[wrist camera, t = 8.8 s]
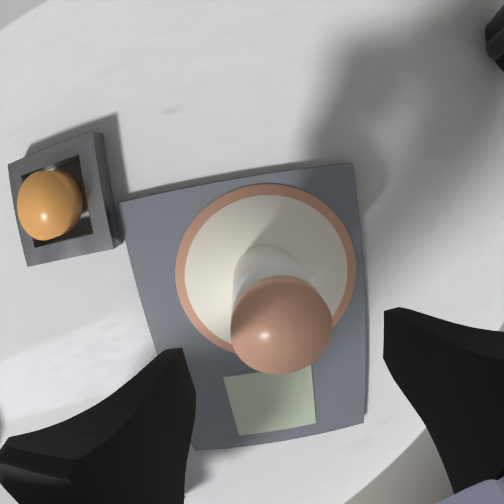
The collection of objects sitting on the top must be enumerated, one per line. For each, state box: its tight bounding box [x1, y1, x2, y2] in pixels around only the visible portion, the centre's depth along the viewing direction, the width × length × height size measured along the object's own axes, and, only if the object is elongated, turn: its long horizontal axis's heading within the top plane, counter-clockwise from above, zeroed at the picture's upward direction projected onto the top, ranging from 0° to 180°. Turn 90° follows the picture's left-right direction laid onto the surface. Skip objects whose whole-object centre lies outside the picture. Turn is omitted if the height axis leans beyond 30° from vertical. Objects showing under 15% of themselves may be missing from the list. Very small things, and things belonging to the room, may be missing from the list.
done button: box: [17, 170, 83, 240], centre depth 16 cm, size 4×4×2 cm
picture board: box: [118, 163, 366, 450], centre depth 20 cm, size 20×14×1 cm
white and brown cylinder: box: [230, 244, 333, 374], centre depth 16 cm, size 4×4×7 cm
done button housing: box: [8, 131, 122, 267], centre depth 17 cm, size 7×7×2 cm
